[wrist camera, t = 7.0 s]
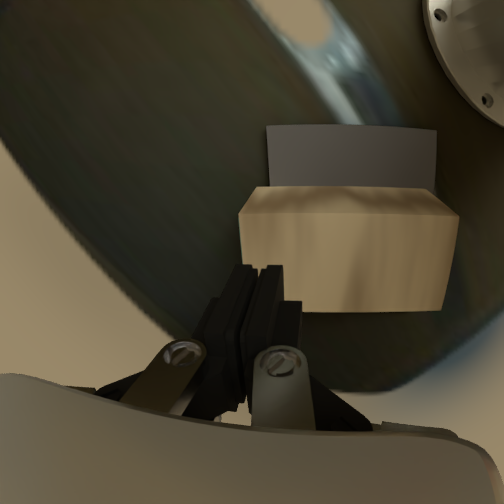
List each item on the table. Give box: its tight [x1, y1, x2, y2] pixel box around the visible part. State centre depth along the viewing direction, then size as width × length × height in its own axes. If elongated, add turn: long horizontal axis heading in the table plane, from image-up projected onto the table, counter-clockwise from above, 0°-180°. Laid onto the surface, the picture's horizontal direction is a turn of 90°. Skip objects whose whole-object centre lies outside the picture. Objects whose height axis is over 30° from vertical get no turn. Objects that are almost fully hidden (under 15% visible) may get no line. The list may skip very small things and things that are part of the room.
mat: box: [266, 124, 437, 195], centre depth 19 cm, size 10×12×1 cm
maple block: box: [238, 186, 459, 312], centre depth 16 cm, size 5×5×10 cm
